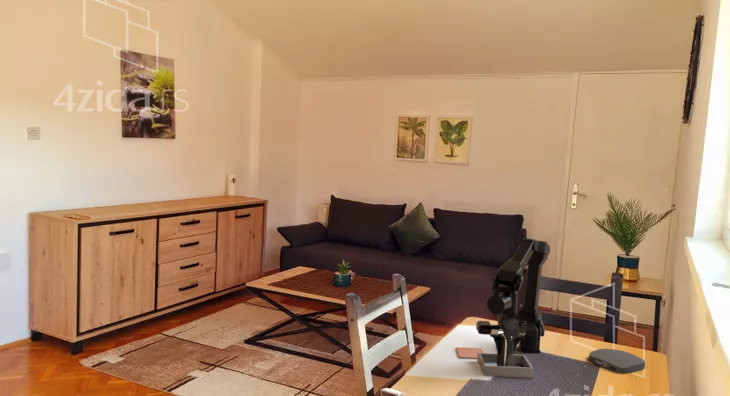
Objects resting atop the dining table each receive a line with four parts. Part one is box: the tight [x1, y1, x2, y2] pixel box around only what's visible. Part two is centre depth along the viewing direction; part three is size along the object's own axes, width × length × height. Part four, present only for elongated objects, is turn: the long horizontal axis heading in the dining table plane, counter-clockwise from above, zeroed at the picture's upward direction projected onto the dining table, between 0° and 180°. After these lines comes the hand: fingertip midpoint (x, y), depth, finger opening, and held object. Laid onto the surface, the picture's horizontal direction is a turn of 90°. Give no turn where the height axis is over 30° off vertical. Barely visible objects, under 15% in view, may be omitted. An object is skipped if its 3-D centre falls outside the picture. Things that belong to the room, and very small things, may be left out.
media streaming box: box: [588, 348, 646, 374], centre depth 182 cm, size 15×15×3 cm
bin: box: [476, 352, 535, 379], centre depth 174 cm, size 16×12×3 cm
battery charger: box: [495, 332, 515, 366], centre depth 173 cm, size 7×4×11 cm, turn 1°
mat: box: [455, 346, 485, 360], centre depth 186 cm, size 9×9×1 cm
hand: (505, 354), depth 174 cm, fingers closed on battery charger, 4 cm apart
